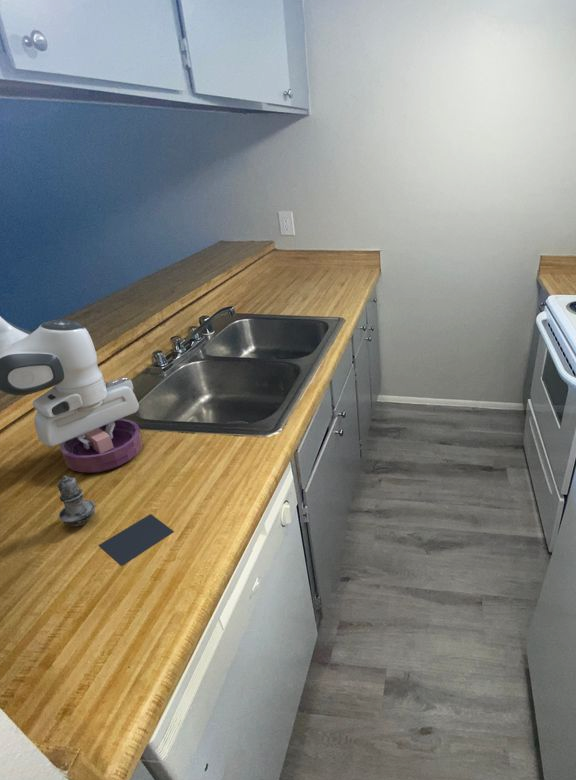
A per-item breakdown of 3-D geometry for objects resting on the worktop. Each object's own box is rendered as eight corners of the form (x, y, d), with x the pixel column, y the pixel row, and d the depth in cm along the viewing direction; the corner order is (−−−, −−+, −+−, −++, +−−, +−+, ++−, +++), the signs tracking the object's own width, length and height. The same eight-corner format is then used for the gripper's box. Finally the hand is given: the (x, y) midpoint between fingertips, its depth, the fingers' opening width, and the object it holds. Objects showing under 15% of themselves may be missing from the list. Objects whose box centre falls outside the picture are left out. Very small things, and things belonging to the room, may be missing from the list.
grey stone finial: (106, 521, 92) (89, 472, 86) (74, 540, 87) (55, 490, 82) (89, 509, 95) (72, 461, 89) (57, 527, 90) (37, 478, 84)
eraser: (113, 447, 110) (110, 435, 108) (100, 454, 108) (96, 441, 106) (100, 438, 113) (96, 426, 111) (87, 444, 111) (83, 432, 109)
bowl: (87, 485, 101) (81, 466, 99) (53, 458, 108) (47, 440, 106) (157, 450, 112) (152, 433, 110) (122, 428, 120) (117, 411, 118)
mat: (122, 568, 82) (121, 566, 82) (98, 547, 86) (98, 545, 86) (175, 533, 90) (174, 531, 90) (151, 515, 94) (150, 513, 93)
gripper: (122, 370, 113) (135, 419, 119) (23, 405, 98) (44, 458, 104) (137, 378, 110) (149, 428, 116) (36, 414, 95) (57, 469, 101)
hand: (98, 443), depth 110 cm, fingers closed on eraser, 3 cm apart
